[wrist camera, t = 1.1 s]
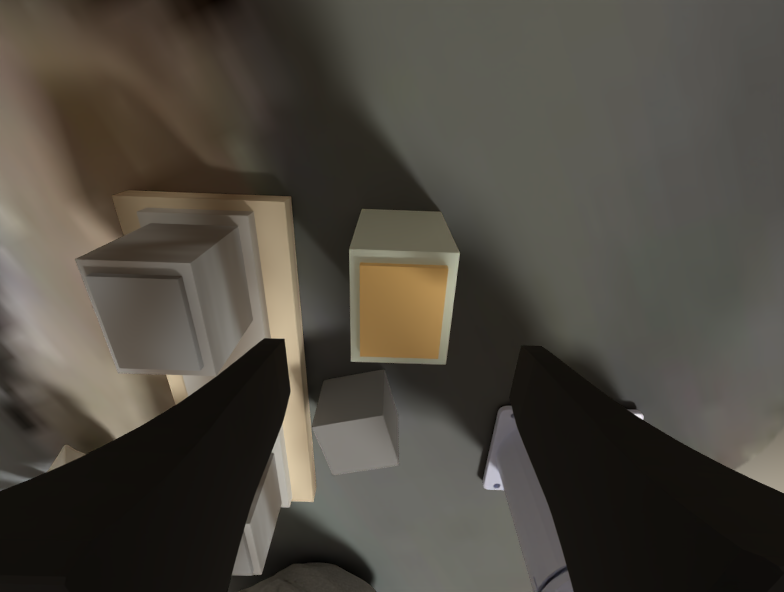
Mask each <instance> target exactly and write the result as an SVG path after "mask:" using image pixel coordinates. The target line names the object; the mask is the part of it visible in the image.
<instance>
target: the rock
mask: <svg viewBox="0 0 784 592" xmlns="http://www.w3.org/2000/svg"><path fill="white" fill-rule="evenodd" d="M238 592H376V591H375V589H374V588H373V587H372V586H370V585H369V584H368V583H367V582H365V581H364V580H362V579H360V578H359V577H357V576H355V575H353V574H351V573H349V572H347V571H345V570H344V569H342V568H340V567H338V566H336V565H333V564H328V563H306V564H292V565H290V566H289V567H287V568H285V569H283V570H281V571H279V572H278V573H276V574H275V575H274V576H272V577H269V578H267V579H265V580H263V581H261V582H259V583H257V584H256V585H254V586H251V587H249V588H245V589H242V590H239V591H238Z"/></svg>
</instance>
